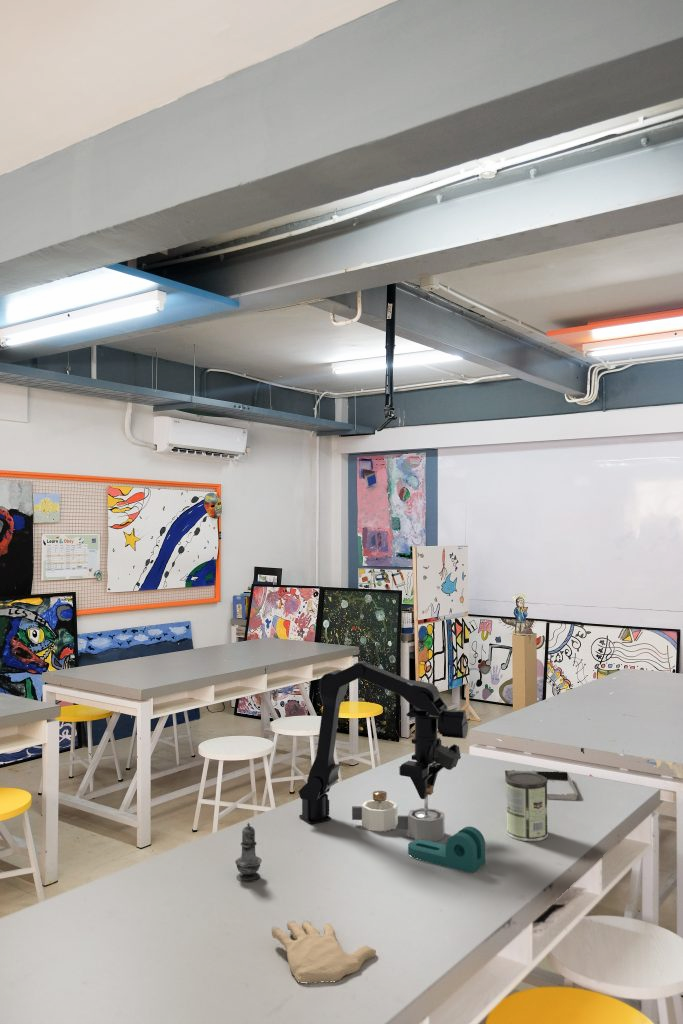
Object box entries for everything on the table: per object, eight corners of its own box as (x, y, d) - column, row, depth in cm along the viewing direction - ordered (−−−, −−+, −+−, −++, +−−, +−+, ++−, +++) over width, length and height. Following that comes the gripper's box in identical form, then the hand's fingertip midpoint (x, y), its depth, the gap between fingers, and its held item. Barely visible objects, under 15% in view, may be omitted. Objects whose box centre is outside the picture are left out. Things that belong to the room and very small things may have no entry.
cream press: (369, 835, 209) (369, 814, 209) (350, 824, 216) (350, 804, 216) (403, 826, 214) (403, 806, 214) (383, 816, 222) (383, 797, 222)
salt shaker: (240, 884, 180) (240, 829, 180) (231, 874, 185) (231, 820, 185) (265, 879, 182) (265, 824, 182) (255, 869, 187) (256, 816, 188)
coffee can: (519, 823, 216) (519, 769, 217) (555, 833, 209) (555, 777, 210) (498, 834, 209) (498, 778, 209) (534, 845, 202) (534, 787, 202)
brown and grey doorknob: (376, 828, 212) (376, 797, 212) (364, 821, 216) (364, 791, 217) (394, 823, 215) (394, 793, 215) (382, 817, 219) (382, 788, 220)
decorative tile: (578, 805, 235) (571, 781, 254) (578, 794, 235) (571, 771, 254) (506, 801, 238) (504, 778, 258) (506, 791, 238) (504, 768, 258)
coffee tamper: (424, 821, 205) (424, 790, 205) (410, 815, 210) (410, 784, 210) (441, 817, 208) (441, 786, 208) (428, 811, 212) (428, 780, 213)
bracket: (485, 863, 191) (485, 829, 191) (472, 874, 186) (472, 838, 186) (416, 847, 201) (416, 814, 201) (403, 856, 195) (402, 823, 196)
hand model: (273, 973, 140) (271, 904, 159) (271, 998, 140) (270, 926, 160) (383, 972, 142) (368, 904, 161) (381, 997, 142) (366, 926, 162)
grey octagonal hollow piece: (417, 845, 202) (417, 824, 202) (395, 834, 209) (395, 813, 209) (451, 837, 207) (450, 816, 207) (429, 826, 215) (428, 806, 215)
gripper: (439, 747, 197) (440, 813, 197) (469, 731, 213) (470, 791, 213) (398, 741, 203) (398, 805, 202) (430, 725, 219) (430, 785, 218)
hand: (426, 796), depth 209 cm, fingers closed on coffee tamper, 4 cm apart
